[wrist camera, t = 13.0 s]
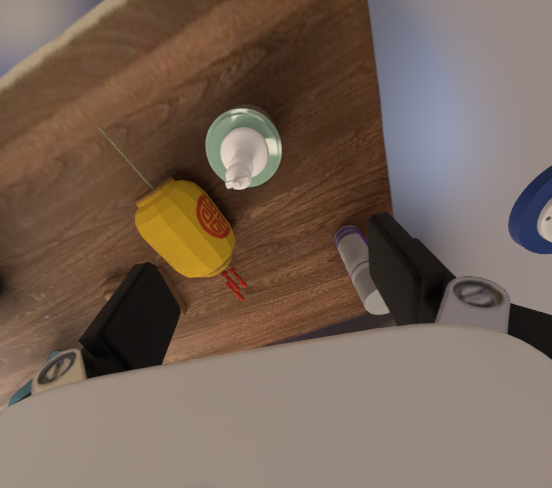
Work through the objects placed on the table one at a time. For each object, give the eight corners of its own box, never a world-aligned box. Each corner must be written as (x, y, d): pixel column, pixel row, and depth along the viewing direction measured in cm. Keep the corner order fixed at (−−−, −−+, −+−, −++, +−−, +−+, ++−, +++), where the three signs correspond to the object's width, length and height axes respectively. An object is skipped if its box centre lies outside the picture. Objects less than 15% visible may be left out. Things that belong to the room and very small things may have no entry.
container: (363, 244, 44) (405, 309, 31) (336, 252, 44) (367, 319, 32) (358, 221, 41) (401, 281, 29) (330, 230, 42) (360, 293, 29)
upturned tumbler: (223, 93, 31) (211, 96, 23) (285, 115, 33) (293, 124, 25) (212, 158, 35) (198, 178, 27) (268, 174, 37) (269, 198, 29)
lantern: (266, 317, 36) (89, 112, 22) (214, 328, 41) (36, 162, 26) (277, 268, 44) (151, 93, 30) (232, 282, 48) (103, 134, 34)
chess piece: (274, 169, 27) (279, 207, 19) (231, 182, 28) (217, 225, 19) (260, 120, 25) (259, 138, 16) (212, 136, 25) (187, 161, 17)
